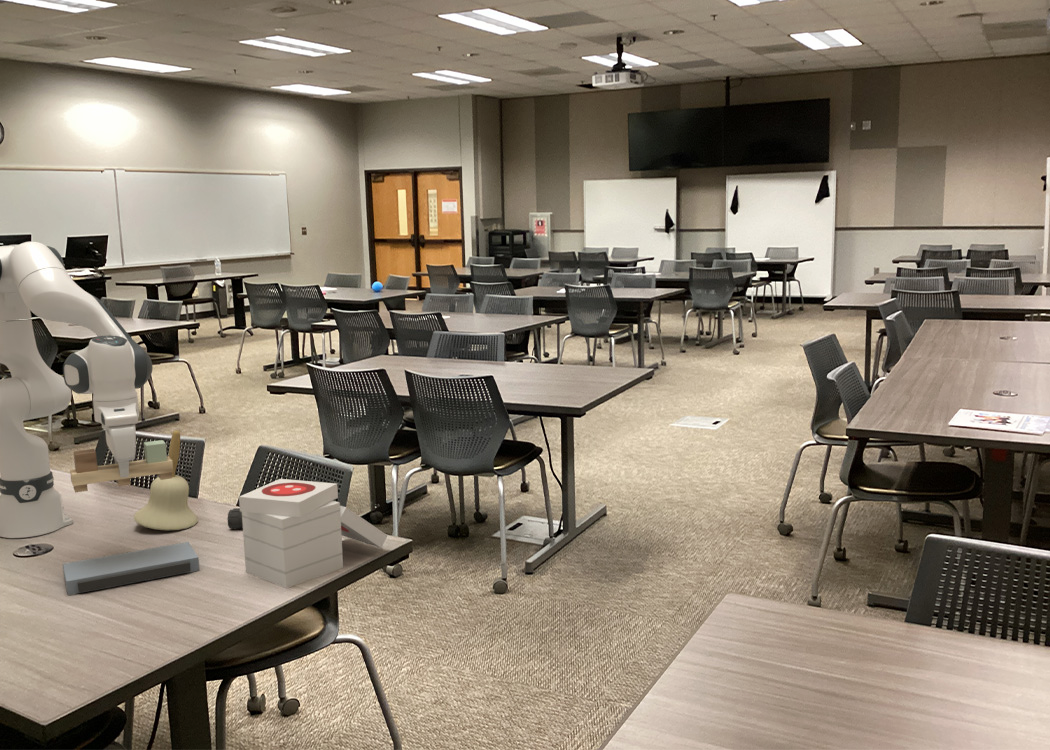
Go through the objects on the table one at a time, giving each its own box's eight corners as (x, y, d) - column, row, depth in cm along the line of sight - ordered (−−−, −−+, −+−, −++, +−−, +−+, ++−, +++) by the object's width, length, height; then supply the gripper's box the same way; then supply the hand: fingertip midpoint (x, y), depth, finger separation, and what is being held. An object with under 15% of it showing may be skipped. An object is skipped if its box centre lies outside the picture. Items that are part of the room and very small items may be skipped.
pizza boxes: (393, 553, 209) (390, 476, 206) (282, 593, 186) (277, 508, 184) (341, 536, 221) (337, 464, 219) (231, 572, 199) (225, 492, 196)
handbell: (146, 511, 240) (157, 419, 236) (204, 520, 240) (216, 428, 237) (123, 530, 224) (134, 432, 221) (185, 539, 225) (197, 442, 222)
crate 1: (75, 469, 196) (73, 451, 195) (95, 466, 198) (94, 448, 197) (76, 473, 192) (74, 454, 192) (97, 470, 194) (95, 452, 194)
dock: (64, 576, 198) (62, 563, 197) (189, 554, 211) (188, 541, 210) (68, 596, 187) (66, 583, 186) (200, 571, 199) (199, 558, 199)
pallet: (71, 487, 196) (70, 469, 196) (170, 473, 206) (168, 456, 205) (73, 493, 192) (71, 474, 191) (173, 478, 202) (172, 460, 201)
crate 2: (145, 460, 203) (143, 442, 202) (164, 457, 205) (162, 440, 204) (147, 463, 199) (146, 445, 199) (167, 461, 201) (165, 443, 200)
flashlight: (226, 532, 226) (224, 511, 226) (233, 525, 232) (231, 505, 231) (287, 531, 226) (286, 510, 225) (293, 524, 232) (292, 503, 231)
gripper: (95, 406, 204) (101, 466, 206) (105, 420, 186) (112, 486, 188) (126, 402, 207) (132, 462, 209) (138, 416, 189) (144, 481, 192)
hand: (122, 473), depth 199 cm, fingers closed on pallet, 5 cm apart
